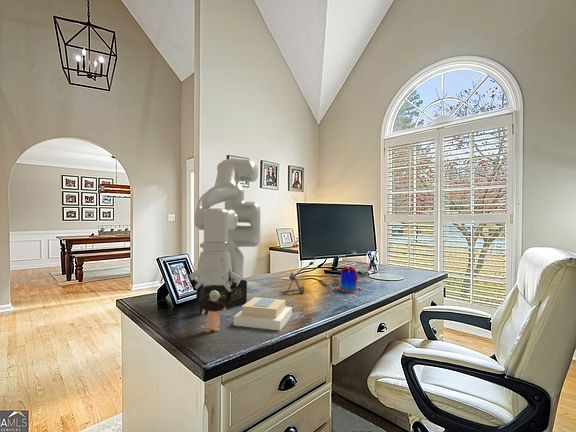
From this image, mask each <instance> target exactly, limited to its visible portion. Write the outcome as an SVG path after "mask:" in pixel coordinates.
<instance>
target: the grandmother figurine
mask: <svg viewBox="0 0 576 432" xmlns="http://www.w3.org/2000/svg"><path fill="white" fill-rule="evenodd" d="M209 296H210V299H211V301H210V302H208V303H207V304H206V305H205V307H204V308H203V311H202V313H201V315H204V314H205V312H206V310H208V309H209V311H208V314H207V317H206V329H205V330H204V332H205V333H211V332H212V331H213V332H216V333H217V332H220V328H219V327H220V318H221V316H220V313H221V311H223V313H227V312H228V309H226V308H225V305H224V304H223V303H221V302H219V301H217V300H218V298H219V297H220V294H219V292H218V291H216V290H213V291H211V292H210V295H209ZM219 308H220V309H222V310H221V311H219ZM205 315H206V314H205Z"/></svg>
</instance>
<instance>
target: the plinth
mask: <svg viewBox="0 0 576 432" xmlns="http://www.w3.org/2000/svg"><path fill="white" fill-rule="evenodd" d="M292 313H293V307H291V306H286V299H277V298H266V297H257V296H254V297H253V298H251V299H250V300H248V301H247V302H246V304H244V305H241V310H240V311H239V312H237V313H236V314H235V315H234V316H233V326H237V327H244V328H246V327H247V328H254V329H255V328H256V329H263V330H269V331H270V330H271V331H272V330H273V331H281V330H282V329H283V327H284V326H285V325H286V324H287V322H288V321H289V320H290V318H291V317H292V315H293V314H292Z"/></svg>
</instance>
